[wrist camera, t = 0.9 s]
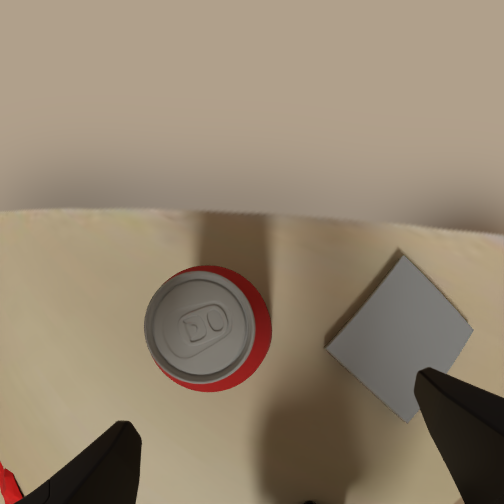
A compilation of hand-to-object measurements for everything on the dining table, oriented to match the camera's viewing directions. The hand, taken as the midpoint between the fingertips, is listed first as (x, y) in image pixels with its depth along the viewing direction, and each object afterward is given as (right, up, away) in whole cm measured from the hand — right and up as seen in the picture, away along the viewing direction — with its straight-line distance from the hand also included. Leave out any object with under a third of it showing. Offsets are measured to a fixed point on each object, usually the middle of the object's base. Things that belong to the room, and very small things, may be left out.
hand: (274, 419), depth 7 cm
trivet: (+13, -3, +15) cm, 21 cm away
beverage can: (-2, -2, +17) cm, 17 cm away
